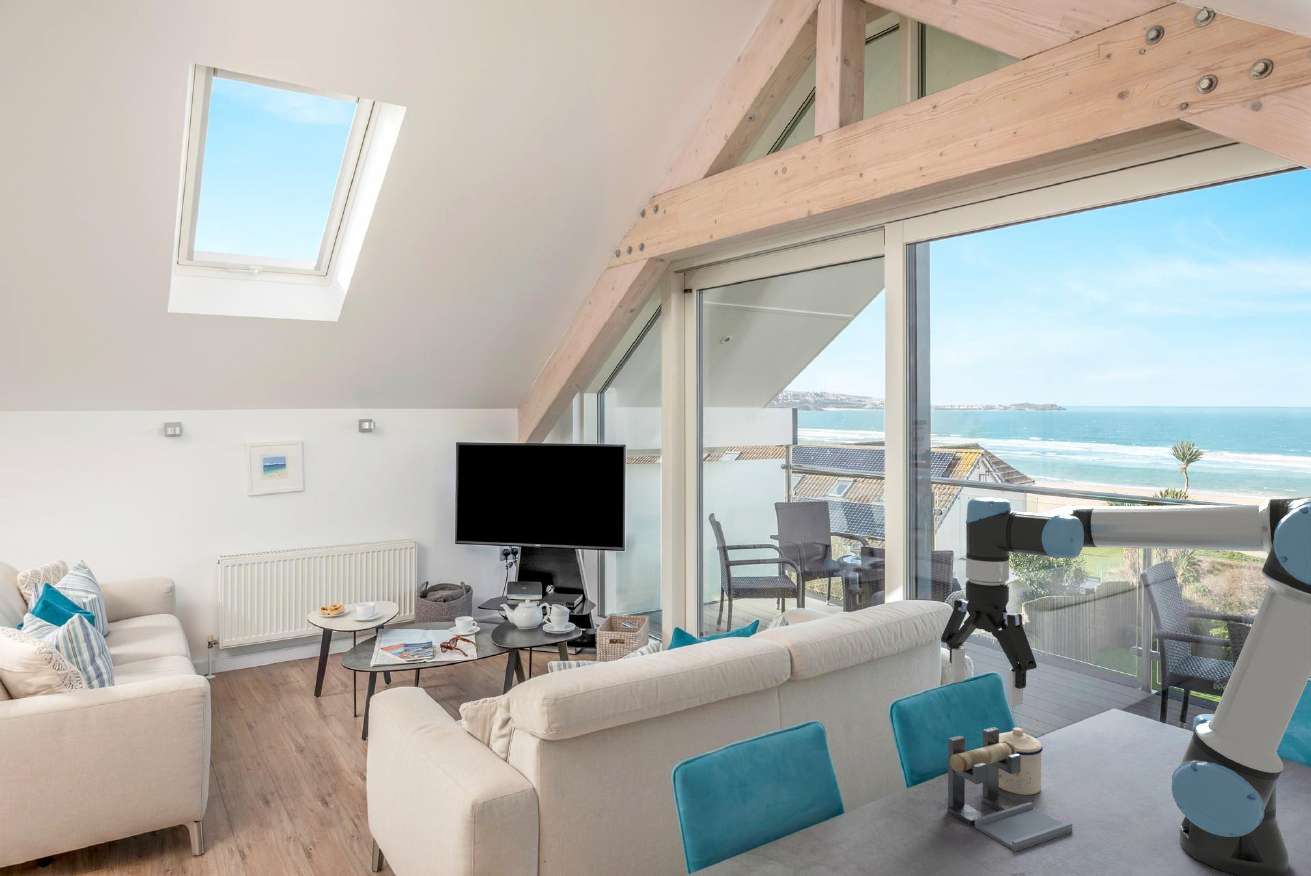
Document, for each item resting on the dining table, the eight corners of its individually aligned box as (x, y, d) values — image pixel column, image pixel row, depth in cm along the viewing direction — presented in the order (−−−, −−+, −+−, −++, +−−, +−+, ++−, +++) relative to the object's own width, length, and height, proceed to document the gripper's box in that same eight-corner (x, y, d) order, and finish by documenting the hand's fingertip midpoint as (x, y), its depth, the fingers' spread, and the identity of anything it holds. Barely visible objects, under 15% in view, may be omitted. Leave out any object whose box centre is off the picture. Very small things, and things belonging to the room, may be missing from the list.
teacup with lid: (1021, 773, 170) (1022, 718, 169) (1052, 793, 161) (1053, 735, 160) (971, 779, 167) (971, 724, 166) (1000, 800, 158) (1000, 741, 158)
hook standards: (1023, 811, 154) (1023, 738, 153) (972, 827, 148) (973, 751, 148) (995, 796, 160) (995, 726, 159) (946, 811, 154) (946, 738, 154)
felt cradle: (1072, 831, 146) (1072, 823, 146) (1015, 851, 140) (1015, 842, 140) (1029, 809, 154) (1030, 801, 154) (974, 827, 148) (974, 819, 148)
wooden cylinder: (1006, 758, 158) (1001, 741, 159) (1018, 756, 155) (1012, 739, 156) (953, 772, 152) (947, 755, 153) (964, 771, 149) (958, 753, 150)
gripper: (1059, 592, 142) (1057, 711, 143) (951, 566, 165) (950, 670, 166) (1029, 597, 139) (1027, 718, 140) (923, 570, 162) (922, 675, 162)
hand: (985, 692), depth 153 cm, fingers open, 13 cm apart
